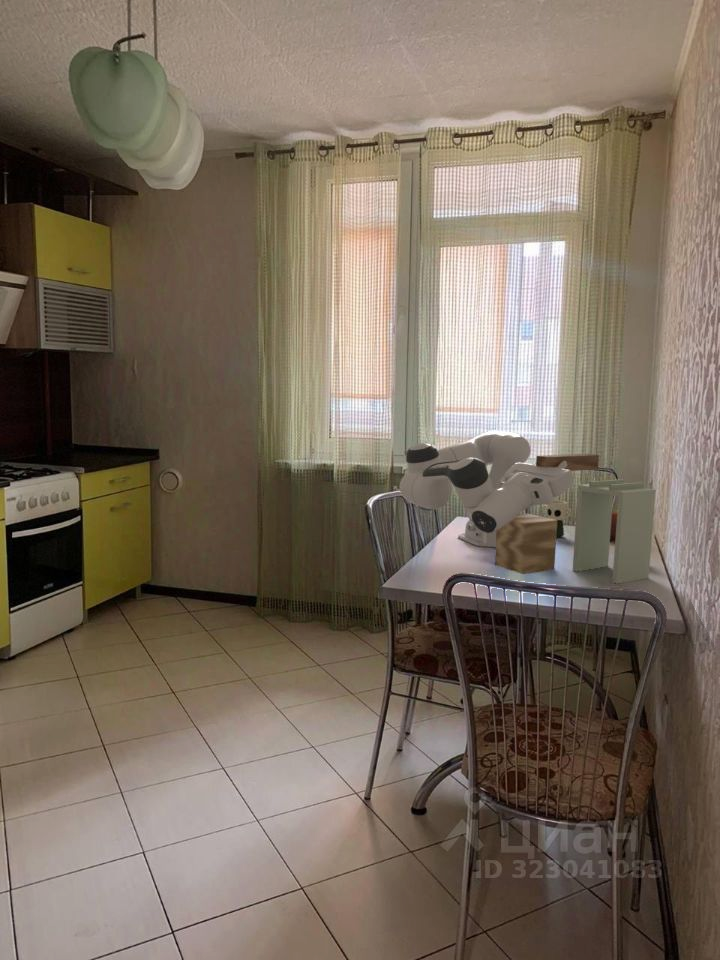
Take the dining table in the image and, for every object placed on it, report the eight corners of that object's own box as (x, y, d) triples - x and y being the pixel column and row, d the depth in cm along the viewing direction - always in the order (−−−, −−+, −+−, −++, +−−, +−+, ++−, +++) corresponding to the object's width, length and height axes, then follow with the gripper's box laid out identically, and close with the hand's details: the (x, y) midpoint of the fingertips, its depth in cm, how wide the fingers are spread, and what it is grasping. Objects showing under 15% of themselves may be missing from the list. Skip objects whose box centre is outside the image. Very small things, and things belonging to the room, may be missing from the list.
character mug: (537, 536, 266) (539, 501, 264) (544, 533, 271) (546, 499, 270) (565, 540, 259) (567, 504, 258) (572, 537, 265) (575, 502, 263)
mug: (593, 539, 262) (595, 511, 260) (597, 535, 269) (599, 508, 268) (628, 543, 256) (630, 515, 255) (631, 539, 264) (633, 511, 263)
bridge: (572, 570, 216) (578, 479, 212) (603, 565, 223) (610, 477, 220) (616, 583, 203) (623, 487, 199) (648, 577, 210) (656, 484, 206)
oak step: (494, 564, 221) (497, 516, 219) (525, 560, 228) (528, 513, 226) (522, 574, 211) (525, 523, 209) (554, 569, 218) (557, 520, 216)
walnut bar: (535, 470, 194) (536, 455, 194) (586, 467, 205) (587, 453, 204) (546, 472, 191) (547, 457, 190) (597, 469, 201) (598, 454, 201)
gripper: (500, 493, 200) (532, 467, 205) (555, 504, 183) (589, 475, 188) (492, 474, 197) (525, 448, 203) (548, 484, 180) (582, 455, 186)
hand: (557, 461), depth 195 cm, fingers closed on walnut bar, 4 cm apart
